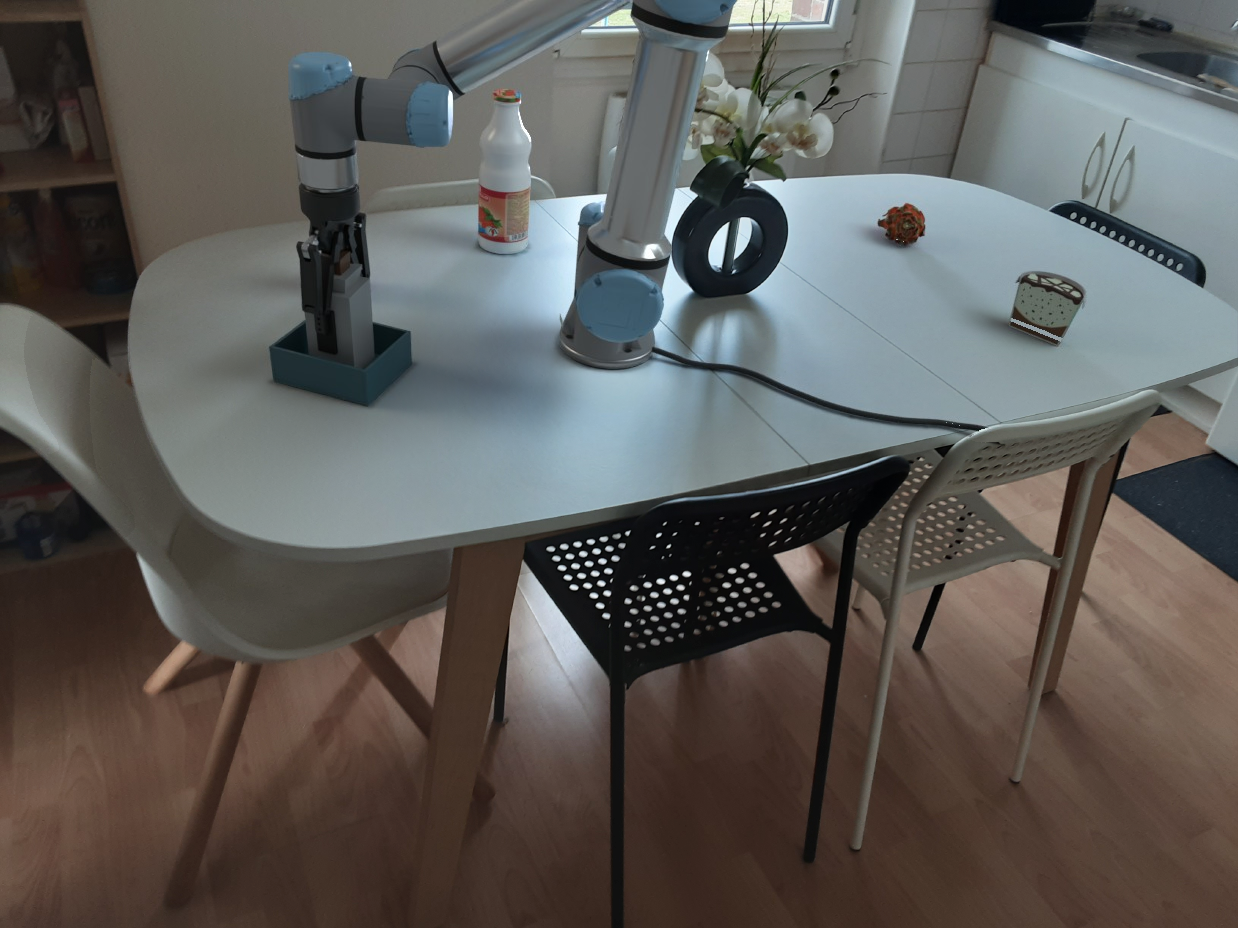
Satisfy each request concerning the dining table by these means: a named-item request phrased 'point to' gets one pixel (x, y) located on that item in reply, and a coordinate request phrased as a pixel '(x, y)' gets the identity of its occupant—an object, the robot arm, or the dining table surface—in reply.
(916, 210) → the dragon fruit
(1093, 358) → the dining table surface
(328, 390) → the case
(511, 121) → the fruit juice
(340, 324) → the perfume bottle
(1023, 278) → the food container
